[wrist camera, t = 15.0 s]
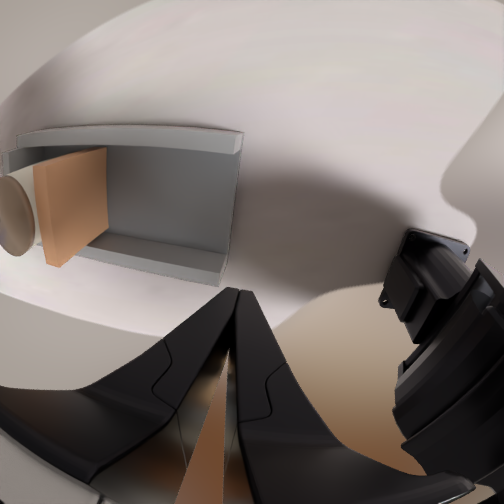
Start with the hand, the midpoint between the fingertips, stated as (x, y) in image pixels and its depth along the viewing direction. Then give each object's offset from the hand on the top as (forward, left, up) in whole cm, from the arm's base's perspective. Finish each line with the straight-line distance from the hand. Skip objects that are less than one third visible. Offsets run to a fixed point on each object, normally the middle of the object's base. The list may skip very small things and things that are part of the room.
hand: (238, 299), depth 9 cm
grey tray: (+10, 0, -10) cm, 14 cm away
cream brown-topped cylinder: (+15, 0, -9) cm, 17 cm away
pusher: (+11, 0, -9) cm, 15 cm away
